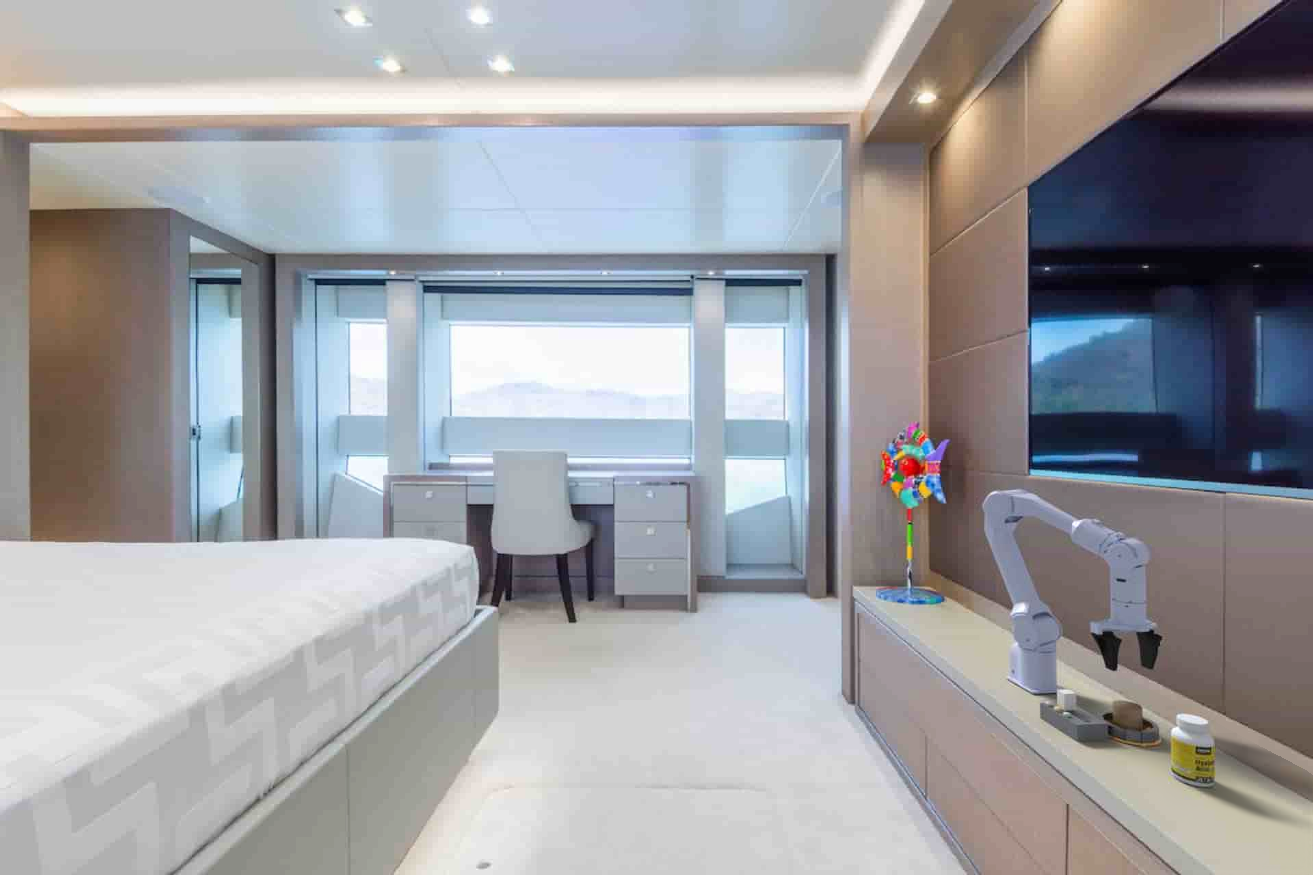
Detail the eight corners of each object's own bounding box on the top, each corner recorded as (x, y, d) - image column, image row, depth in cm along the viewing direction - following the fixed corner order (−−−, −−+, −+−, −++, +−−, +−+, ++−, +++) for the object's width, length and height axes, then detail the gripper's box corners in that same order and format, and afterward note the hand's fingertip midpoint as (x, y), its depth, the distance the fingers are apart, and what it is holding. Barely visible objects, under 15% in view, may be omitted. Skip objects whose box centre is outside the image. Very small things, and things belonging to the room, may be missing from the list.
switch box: (1040, 717, 127) (1040, 699, 127) (1069, 716, 127) (1068, 698, 127) (1077, 741, 117) (1076, 721, 117) (1108, 739, 117) (1107, 720, 117)
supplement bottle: (1198, 790, 100) (1197, 727, 100) (1163, 773, 105) (1162, 713, 105) (1223, 785, 101) (1222, 723, 102) (1187, 768, 107) (1186, 709, 107)
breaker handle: (1057, 706, 124) (1056, 689, 124) (1068, 705, 125) (1068, 689, 125) (1064, 710, 122) (1064, 693, 122) (1076, 709, 123) (1076, 693, 123)
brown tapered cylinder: (1107, 727, 122) (1106, 700, 122) (1129, 726, 122) (1129, 699, 122) (1126, 737, 117) (1125, 710, 117) (1149, 736, 117) (1148, 709, 117)
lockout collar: (1082, 722, 124) (1082, 711, 124) (1131, 720, 125) (1130, 708, 125) (1123, 747, 114) (1123, 734, 114) (1176, 744, 115) (1176, 731, 115)
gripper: (1109, 606, 123) (1110, 677, 122) (1180, 604, 124) (1181, 674, 124) (1082, 597, 130) (1083, 664, 130) (1149, 595, 131) (1150, 661, 131)
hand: (1129, 668), depth 127 cm, fingers open, 7 cm apart
